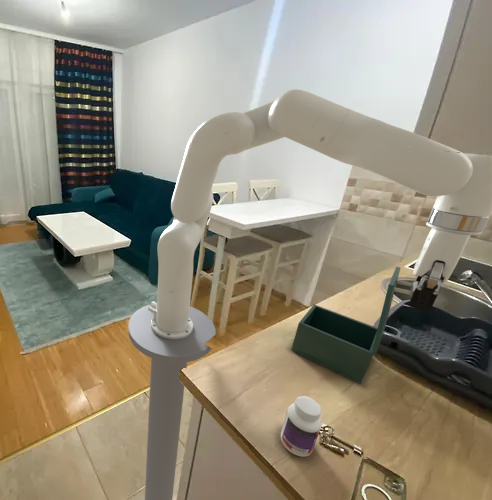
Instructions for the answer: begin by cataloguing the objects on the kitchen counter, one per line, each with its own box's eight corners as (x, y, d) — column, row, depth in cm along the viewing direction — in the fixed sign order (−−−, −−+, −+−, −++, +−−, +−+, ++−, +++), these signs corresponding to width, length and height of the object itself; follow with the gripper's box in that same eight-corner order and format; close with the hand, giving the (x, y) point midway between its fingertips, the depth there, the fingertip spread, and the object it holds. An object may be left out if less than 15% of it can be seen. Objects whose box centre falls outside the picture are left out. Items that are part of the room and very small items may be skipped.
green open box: (291, 349, 77) (298, 322, 74) (306, 329, 85) (314, 304, 82) (360, 384, 67) (373, 354, 64) (370, 357, 75) (382, 329, 72)
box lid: (388, 284, 59) (423, 292, 55) (396, 266, 67) (427, 272, 63) (371, 351, 64) (402, 362, 60) (380, 327, 72) (408, 335, 69)
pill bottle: (316, 461, 51) (331, 422, 47) (283, 453, 52) (295, 415, 48) (307, 432, 56) (320, 395, 52) (277, 426, 57) (288, 389, 53)
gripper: (430, 210, 62) (401, 280, 69) (426, 225, 51) (392, 308, 57) (481, 217, 57) (445, 292, 64) (489, 236, 46) (444, 325, 52)
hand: (420, 299), depth 61 cm, fingers open, 9 cm apart
